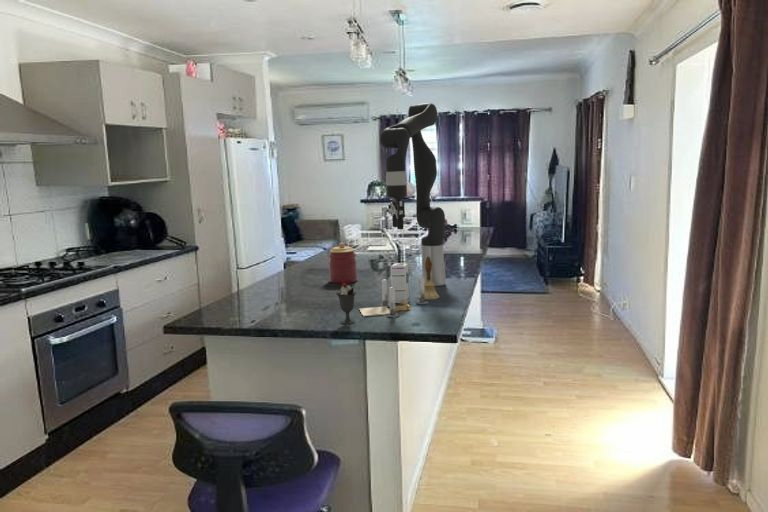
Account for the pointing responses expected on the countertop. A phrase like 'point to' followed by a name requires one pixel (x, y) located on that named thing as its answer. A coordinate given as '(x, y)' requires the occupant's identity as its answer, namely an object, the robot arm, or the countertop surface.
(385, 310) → the pad
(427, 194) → the robot arm
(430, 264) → the whisk broom
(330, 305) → the countertop surface
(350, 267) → the canister
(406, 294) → the syrup box
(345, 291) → the sundae
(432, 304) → the countertop surface
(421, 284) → the grey rods with bases
